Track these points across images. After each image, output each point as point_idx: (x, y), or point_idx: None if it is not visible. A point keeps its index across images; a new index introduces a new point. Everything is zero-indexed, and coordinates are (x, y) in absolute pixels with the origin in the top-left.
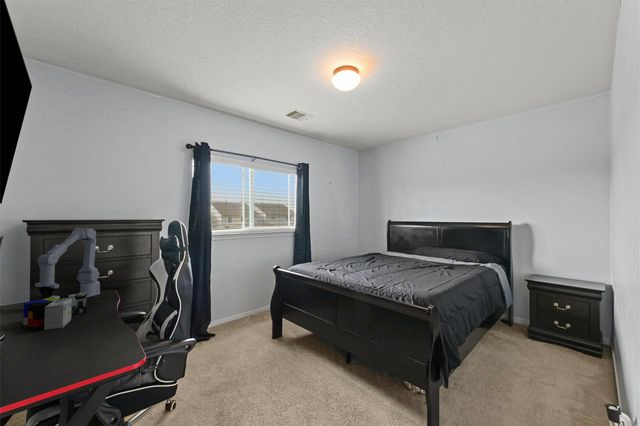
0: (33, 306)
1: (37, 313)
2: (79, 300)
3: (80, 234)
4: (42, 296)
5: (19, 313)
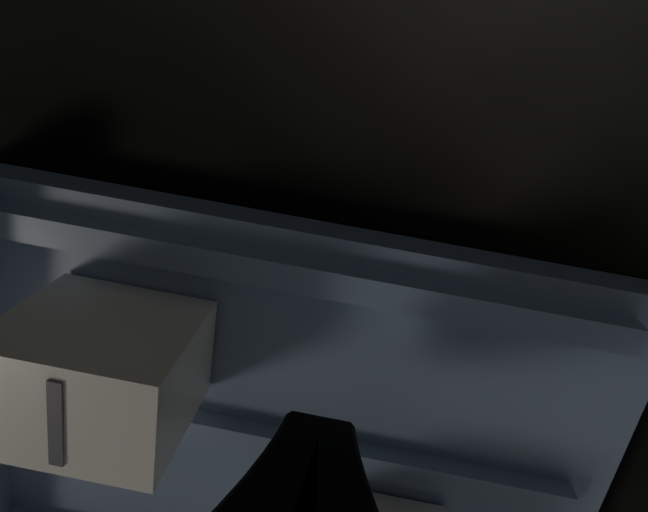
0: None
1: None
2: None
3: None
4: (351, 497)
5: (570, 15)
